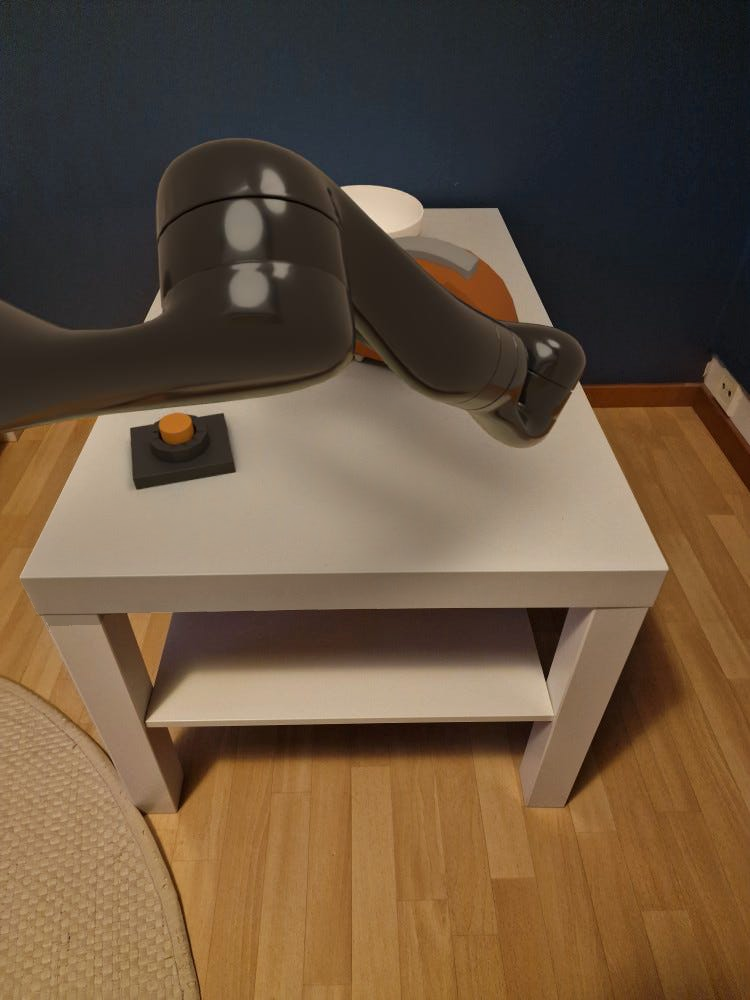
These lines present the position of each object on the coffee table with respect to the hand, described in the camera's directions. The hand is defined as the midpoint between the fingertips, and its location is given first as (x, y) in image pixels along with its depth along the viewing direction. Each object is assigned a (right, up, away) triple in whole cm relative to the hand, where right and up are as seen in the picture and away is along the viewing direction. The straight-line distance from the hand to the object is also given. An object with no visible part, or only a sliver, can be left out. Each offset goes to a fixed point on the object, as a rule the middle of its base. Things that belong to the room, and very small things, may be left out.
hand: (280, 257), depth 75 cm
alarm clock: (+17, -7, +20) cm, 27 cm away
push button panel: (-12, -21, +6) cm, 25 cm away
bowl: (+8, +13, +40) cm, 43 cm away
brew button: (-12, -19, +3) cm, 23 cm away
